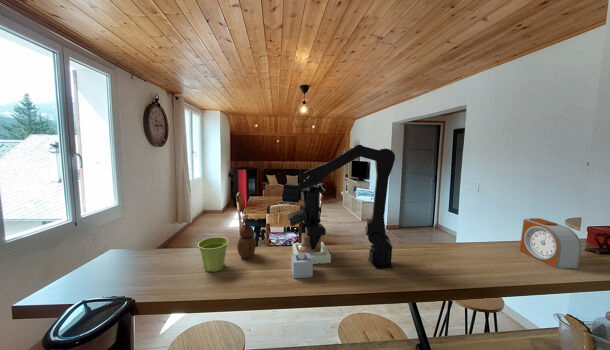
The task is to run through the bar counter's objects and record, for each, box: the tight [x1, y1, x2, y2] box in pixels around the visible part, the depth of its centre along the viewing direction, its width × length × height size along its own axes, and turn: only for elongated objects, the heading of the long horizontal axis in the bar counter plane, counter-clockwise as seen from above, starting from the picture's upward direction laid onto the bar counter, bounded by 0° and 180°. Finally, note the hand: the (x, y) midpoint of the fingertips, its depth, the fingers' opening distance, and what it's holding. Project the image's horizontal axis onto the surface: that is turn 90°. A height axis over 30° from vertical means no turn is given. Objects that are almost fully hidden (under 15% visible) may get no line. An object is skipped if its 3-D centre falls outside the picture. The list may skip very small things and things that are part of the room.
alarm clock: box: [519, 217, 582, 269], centre depth 89 cm, size 15×8×14 cm, turn 2°
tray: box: [291, 241, 332, 265], centre depth 88 cm, size 12×12×3 cm
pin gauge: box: [298, 244, 306, 261], centre depth 76 cm, size 2×2×9 cm
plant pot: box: [197, 236, 230, 273], centre depth 79 cm, size 9×9×9 cm
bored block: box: [290, 253, 314, 279], centre depth 77 cm, size 6×6×5 cm
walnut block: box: [301, 232, 322, 253], centre depth 88 cm, size 6×6×5 cm
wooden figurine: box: [236, 217, 257, 259], centre depth 87 cm, size 7×6×15 cm
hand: (311, 245), depth 88 cm, fingers closed on walnut block, 6 cm apart
